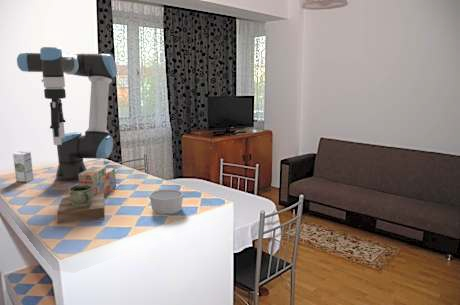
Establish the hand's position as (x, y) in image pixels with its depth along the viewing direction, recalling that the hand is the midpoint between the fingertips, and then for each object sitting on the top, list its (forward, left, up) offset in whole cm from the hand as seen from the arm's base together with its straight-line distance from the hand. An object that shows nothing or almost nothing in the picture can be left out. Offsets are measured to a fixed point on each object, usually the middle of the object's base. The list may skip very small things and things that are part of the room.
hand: (59, 141), depth 147 cm
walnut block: (+14, +8, -27) cm, 31 cm away
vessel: (+14, +8, -22) cm, 27 cm away
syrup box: (-39, -22, -27) cm, 52 cm away
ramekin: (+20, +40, -27) cm, 52 cm away
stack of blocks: (-9, +13, -27) cm, 31 cm away
